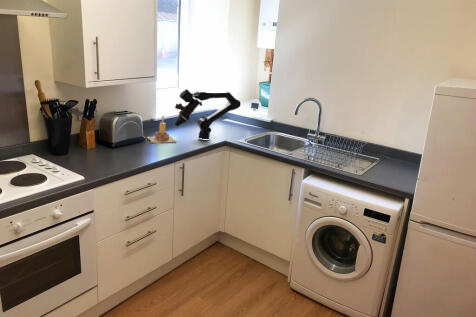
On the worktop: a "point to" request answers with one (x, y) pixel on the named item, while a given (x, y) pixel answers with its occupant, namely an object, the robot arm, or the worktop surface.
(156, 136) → the beige board with box
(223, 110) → the robot arm
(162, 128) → the orange tapered piece
